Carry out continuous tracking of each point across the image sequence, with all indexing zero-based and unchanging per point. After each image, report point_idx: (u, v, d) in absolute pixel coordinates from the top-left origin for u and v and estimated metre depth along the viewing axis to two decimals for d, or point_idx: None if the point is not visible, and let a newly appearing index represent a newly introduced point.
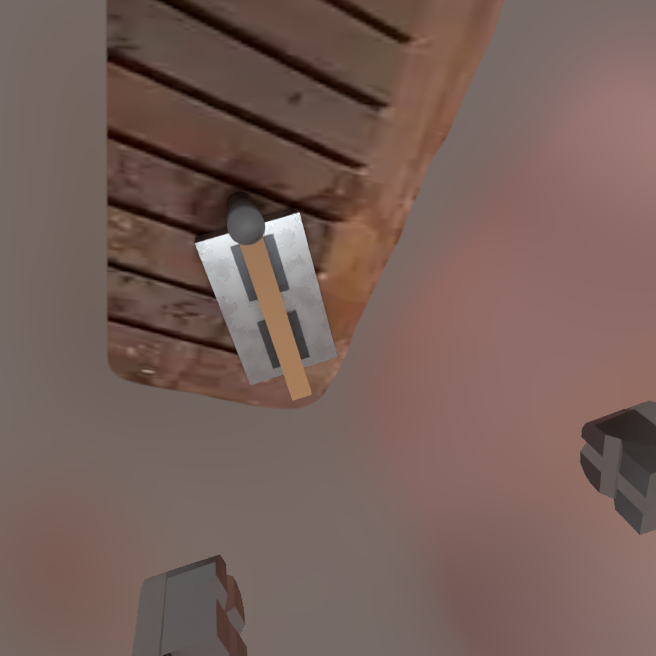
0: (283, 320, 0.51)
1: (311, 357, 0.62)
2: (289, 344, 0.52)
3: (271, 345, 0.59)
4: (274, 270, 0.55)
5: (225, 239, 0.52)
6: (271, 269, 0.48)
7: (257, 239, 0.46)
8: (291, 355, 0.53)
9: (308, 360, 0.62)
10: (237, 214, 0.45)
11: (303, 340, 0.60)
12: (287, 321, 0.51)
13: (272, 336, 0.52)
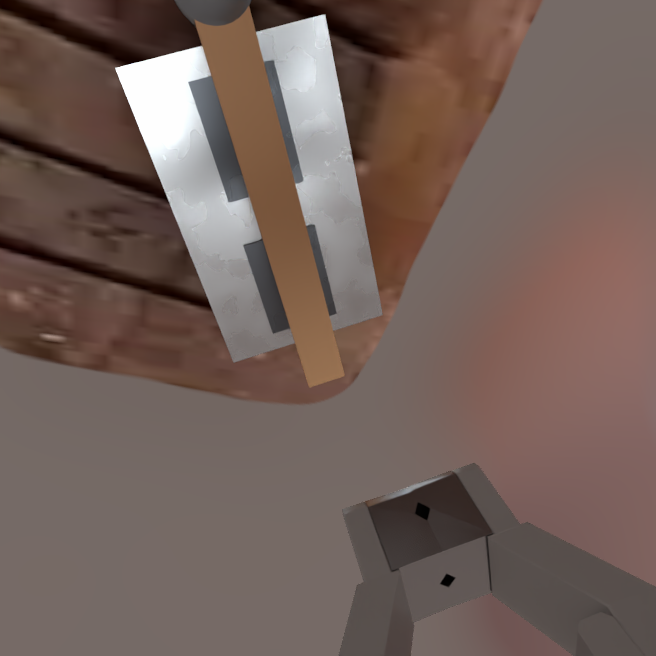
0: (293, 219, 0.25)
1: (339, 315, 0.36)
2: (305, 273, 0.26)
3: (270, 290, 0.33)
4: None
5: (178, 64, 0.26)
6: (269, 95, 0.22)
7: (237, 11, 0.20)
8: (308, 297, 0.27)
9: (333, 320, 0.36)
10: None
11: (326, 282, 0.34)
12: (302, 223, 0.25)
13: (271, 255, 0.25)
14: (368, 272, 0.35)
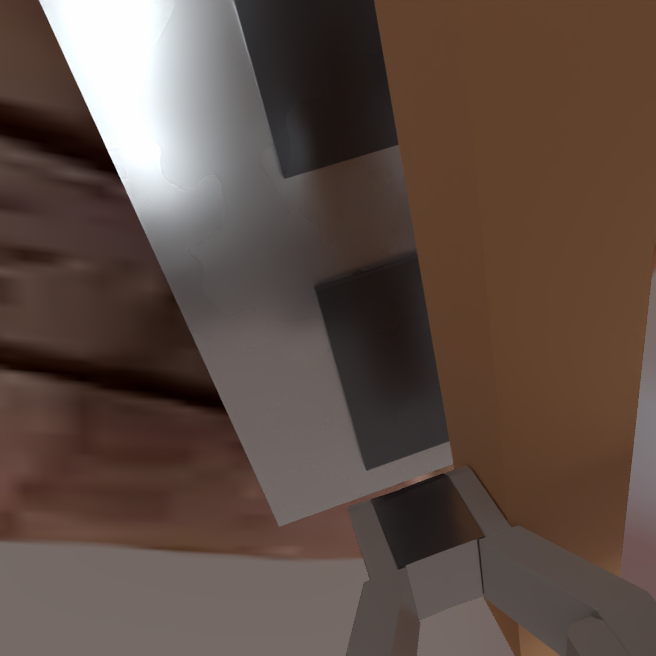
0: (618, 220, 0.06)
1: None
2: (598, 408, 0.07)
3: (368, 386, 0.14)
4: None
5: None
6: None
7: None
8: (584, 474, 0.08)
9: None
10: None
11: None
12: (645, 233, 0.06)
13: (505, 360, 0.07)
14: None
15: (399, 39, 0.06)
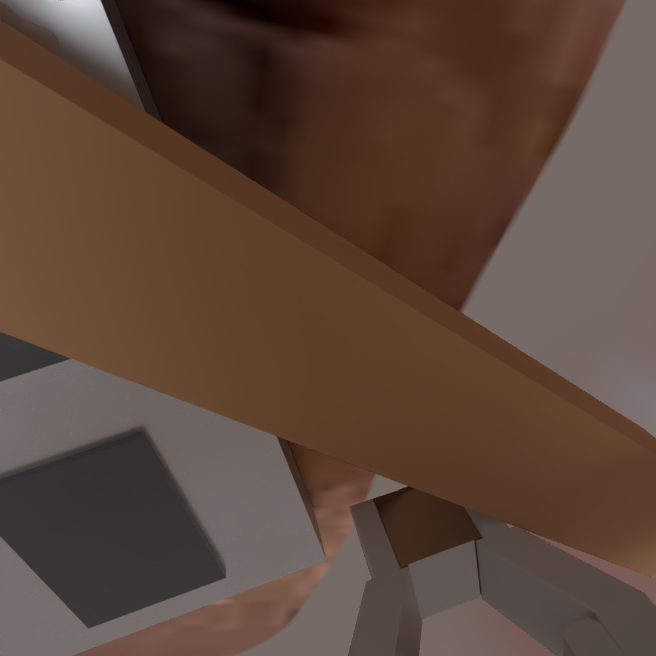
0: (292, 293, 0.05)
1: (235, 574, 0.17)
2: (470, 400, 0.07)
3: (59, 564, 0.15)
4: None
5: None
6: None
7: None
8: (523, 443, 0.07)
9: (223, 583, 0.17)
10: None
11: (192, 533, 0.16)
12: (335, 278, 0.05)
13: (321, 440, 0.06)
14: (288, 499, 0.16)
15: None
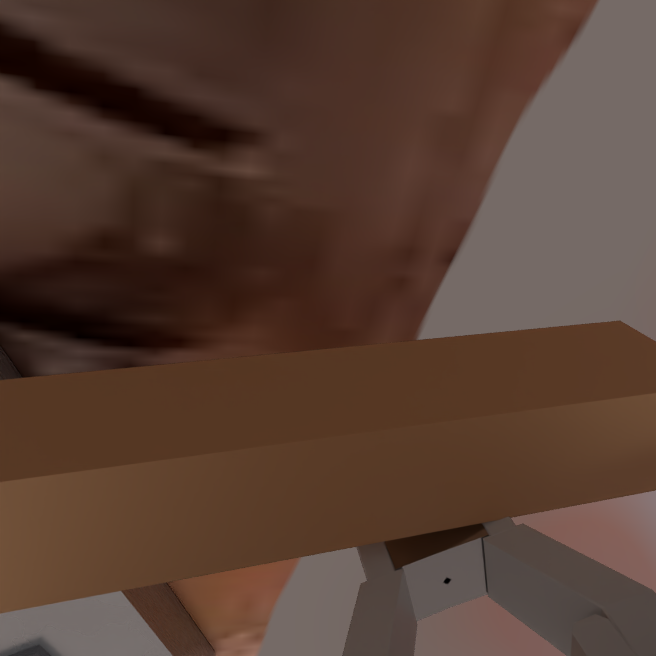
0: (42, 511, 0.06)
1: None
2: (284, 483, 0.07)
3: None
4: None
5: None
6: None
7: None
8: (381, 477, 0.07)
9: None
10: None
11: None
12: (61, 484, 0.06)
13: (181, 571, 0.07)
14: None
15: None
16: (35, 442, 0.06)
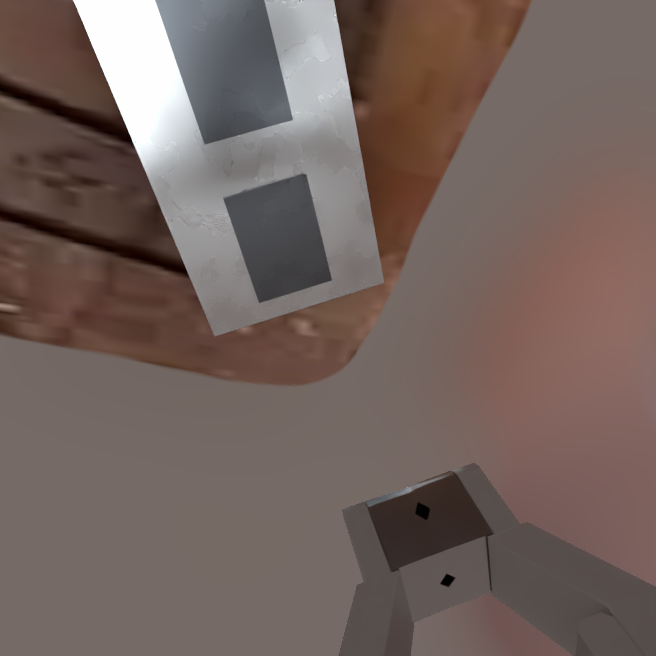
0: None
1: (335, 282, 0.32)
2: None
3: (254, 251, 0.29)
4: (259, 66, 0.24)
5: None
6: None
7: None
8: None
9: (328, 288, 0.32)
10: None
11: (320, 243, 0.30)
12: None
13: None
14: (368, 232, 0.30)
15: None
16: None
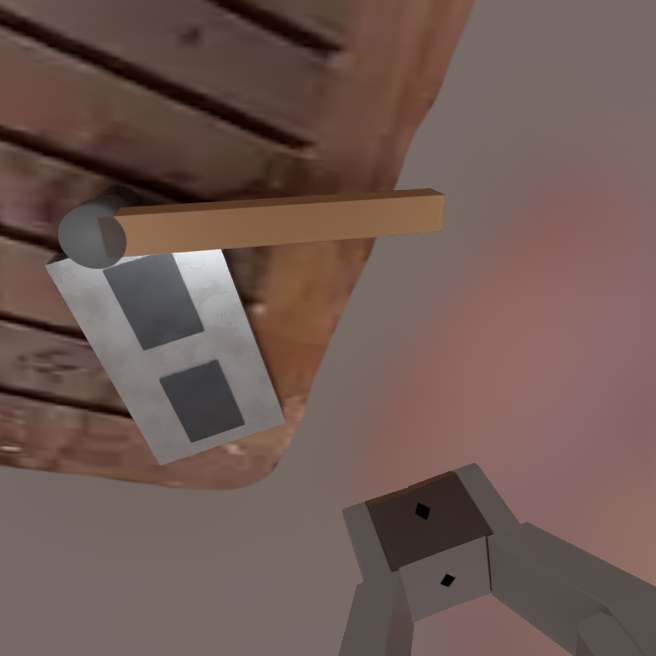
0: (279, 215, 0.29)
1: (248, 425, 0.43)
2: (330, 213, 0.29)
3: (185, 411, 0.41)
4: (177, 303, 0.36)
5: None
6: (178, 214, 0.27)
7: (117, 226, 0.27)
8: (353, 215, 0.30)
9: (243, 429, 0.43)
10: (69, 248, 0.27)
11: (232, 402, 0.41)
12: (284, 208, 0.29)
13: (305, 239, 0.30)
14: (269, 391, 0.42)
15: None
16: (275, 203, 0.29)
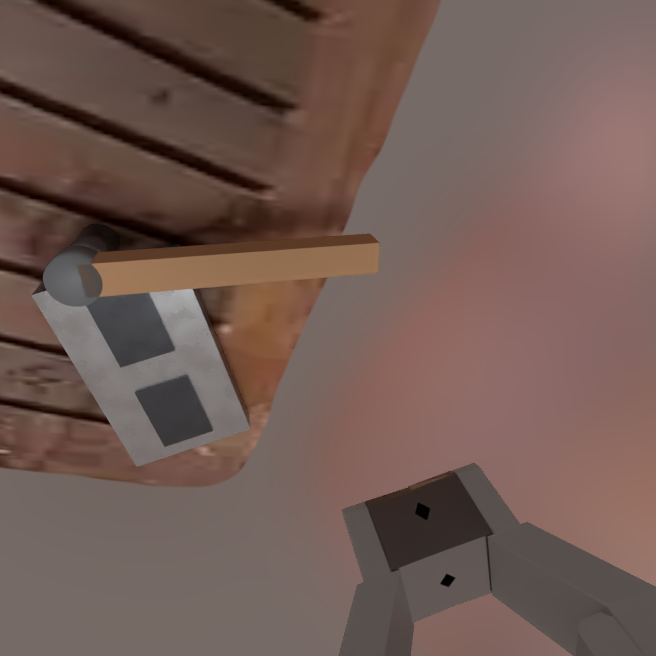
0: (235, 261, 0.33)
1: (216, 431, 0.48)
2: (279, 259, 0.34)
3: (158, 419, 0.46)
4: (150, 327, 0.41)
5: None
6: (146, 261, 0.32)
7: (94, 271, 0.32)
8: (299, 260, 0.35)
9: (212, 434, 0.48)
10: (52, 290, 0.32)
11: (201, 411, 0.46)
12: (239, 255, 0.33)
13: (258, 280, 0.35)
14: (234, 402, 0.47)
15: None
16: (232, 250, 0.34)
